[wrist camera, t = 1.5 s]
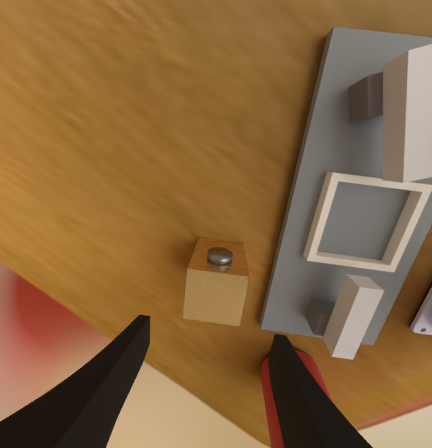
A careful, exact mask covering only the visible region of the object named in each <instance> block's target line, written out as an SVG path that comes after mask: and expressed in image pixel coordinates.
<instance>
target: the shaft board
mask: <svg viewBox="0 0 432 448" xmlns="http://www.w3.org/2000/svg"><path fill="white" fill-rule="evenodd" d="M431 225H432V37H425V36H416V35H407V34H398V33H389V32H380V31H371V30H362V29H353V28H344V27H335V26H334V27H333V28H332V30H331V31H330V32H329V33H328V35H327V38H326V42H325V46H324V50H323V55H322V59H321V63H320V67H319V72H318V76H317V80H316V84H315V89H314V93H313V97H312V101H311V105H310V110H309V114H308V118H307V122H306V127H305V131H304V135H303V139H302V144H301V148H300V152H299V156H298V161H297V165H296V169H295V173H294V178H293V182H292V186H291V190H290V195H289V199H288V203H287V207H286V211H285V216H284V220H283V224H282V228H281V233H280V237H279V241H278V245H277V250H276V254H275V258H274V262H273V267H272V271H271V275H270V279H269V284H268V288H267V292H266V296H265V301H264V305H263V309H262V313H261V317H260V322H259V323H260V328H261V330H268V331H275V332H282V333H289V334H296V335H303V336H310V337H317V338H322V339H323V341H324V343H325V345H326V347H327V348H328V350H329V352H330V354H331V356H332V357H338V358H345V359H352V360H353V359H354V356H355V354H356V352H357V350H358V348H359V345H360V344H366V345H374V343H375V341H376V339H377V337H378V335H379V333H380V331H381V329H382V327H383V325H384V322H385V320H386V318H387V316H388V314H389V312H390V310H391V308H392V306H393V304H394V302H395V300H396V298H397V296H398V293H399V291H400V289H401V287H402V285H403V283H404V281H405V279H406V277H407V275H408V273H409V271H410V269H411V267H412V264H413V262H414V260H415V258H416V256H417V254H418V252H419V250H420V248H421V246H422V244H423V242H424V240H425V238H426V236H427V233H428V231H429V229H430V227H431Z"/></svg>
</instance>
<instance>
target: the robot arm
mask: <svg viewBox="0 0 432 448" xmlns="http://www.w3.org/2000/svg"><path fill="white" fill-rule="evenodd" d="M410 329H411V330H412V331H413V332H415V333H421V334H428V335H432V287H431V289H430V291H429V293H428V294H427V296H426V298H425V300H424V302H423V304H422V306H421V307H420V309H419V311H418V313H417V315H416V317H415V319H414V320H413V322H412V324H411V326H410ZM149 344H150V316H145V315H139V316H137V318H136V319H135V320H134V321H133V322H132V323H131V324H130V325H129V326H128V327H127V328H126V329H125V330H124V331H122V332H121V333H120V334H119V335H118V336H117V337H116V338H115V339H114V340H113V341H112V342H111V343H110V344H109V345H108V346H107V347H105V348H104V349H103V350H102V351H101V352H99V353H98V354H97V355H96V356H95V357H94V358H92V359H91V360H90V361H89V362H88V363H86V364H85V365H84V366H83V367H81V368H80V369H79V370H77V371H76V372H75V373H73V374H72V375H71V376H69V377H68V378H67V379H65V380H64V381H63V382H61V383H60V384H58V385H57V386H55V387H54V388H53V389H51V390H50V391H48V392H47V393H45V394H44V395H42V396H41V397H39V398H38V399H36V400H34V401H33V402H31V403H30V404H28V405H27V406H25V407H23V408H22V409H20V410H18V411H17V412H15V413H14V414H12V415H10V416H9V417H7V418H5V419H4V420H2V421H0V448H106V446H107V443H108V441H109V438H110V435H111V433H112V430H113V427H114V425H115V422H116V420H117V417H118V415H119V413H120V411H121V408H122V406H123V404H124V402H125V400H126V398H127V396H128V394H129V392H130V389H131V387H132V385H133V383H134V381H135V379H136V376H137V374H138V372H139V370H140V367H141V366H142V364H143V361H144V358H145V355H146V352H147V350H148V347H149ZM268 368H269V376H270V383H271V388H272V393H273V398H274V402H275V407H276V411H277V416H278V420H279V425H280V430H281V434H282V439H283V445H284V448H373V447H372V446H371V445H370V444H369V443H368V442H367V441H366V440H365V439H364V438H363V437H362V436H361V435H360V434H359V433H358V431H357V430H356V429H355V428H354V427H353V426H352V425H351V424H350V423H349V421H348V420H347V419H346V418H345V417H344V415H343V414H342V413H341V412H340V411H339V410H338V408H337V407H336V406H335V405H334V403H333V402H332V401H331V400H330V398H329V397H328V396H327V395H326V393H325V392H324V391H323V389H322V388H321V387H320V385H319V384H318V383H317V381H316V380H315V378H314V377H313V376H312V374H311V373H310V371H309V370H308V368H307V367H306V366H305V364H304V363H303V361H302V360H301V358H300V357H299V355H298V354H297V352H296V351H295V349H294V347H293V346H292V344H291V343H290V341H289V340H288V338H287V337H286V336H285V335H278V334H275V336H274V339H273V343H272V347H271V350H270V354H269V358H268Z"/></svg>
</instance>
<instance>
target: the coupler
mask: <svg viewBox="0 0 432 448" xmlns="http://www.w3.org/2000/svg"><path fill="white" fill-rule="evenodd" d="M248 282H249V272H248V267H247V261H246V255H245V250H244V244H243V243H239V242H231V241H224V240H216V239H209V238H201V237H199V239H198V241H197V244H196V247H195V249H194V252H193V255H192V257H191V260H190V262H189V265H188V268H187V277H186V289H185V301H184V313H183V318H184V319H191V320H198V321H205V322H212V323H220V324H227V325H234V326H240V322H241V317H242V312H243V307H244V302H245V297H246V292H247V287H248Z"/></svg>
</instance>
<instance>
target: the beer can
mask: <svg viewBox="0 0 432 448" xmlns="http://www.w3.org/2000/svg"><path fill="white" fill-rule="evenodd" d="M295 351H296V352H297V354H298V355H299V357H300V358H301V360H302V361H303V363H304V364H305V366H306V367H307V368H308V370H309V371H310V373H311V374H312V376H313V377H314V378H315V380H316V381H317V383H318V384H319V385H320V387H321V388H322V389H323V391H324V392H325V393H326V395H327V396H328V397H329V398H330V395H329V393H328V391H327V388H326V386H325V384H324V381H323V379H322V376H321V374H320V372H319V369H318V367H317V365H316V363H315V362H314V360H313V359H312V358H311V357H310V356H308V355H307V354H305V353H304V352H301V351H298V350H295ZM268 358H269V356H268V357H267V358H266V359H265V360H264V362H263V364H262V366H261V372H260V373H261V380H262V387H263V394H264V400H265V407H266V414H267V421H268V427H269V434H270V441H271V448H284V445H283V439H282V434H281V430H280V425H279V420H278V416H277V411H276V407H275V402H274V398H273V393H272V388H271V383H270V376H269V368H268ZM330 400H331V398H330ZM331 401H332V400H331Z"/></svg>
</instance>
